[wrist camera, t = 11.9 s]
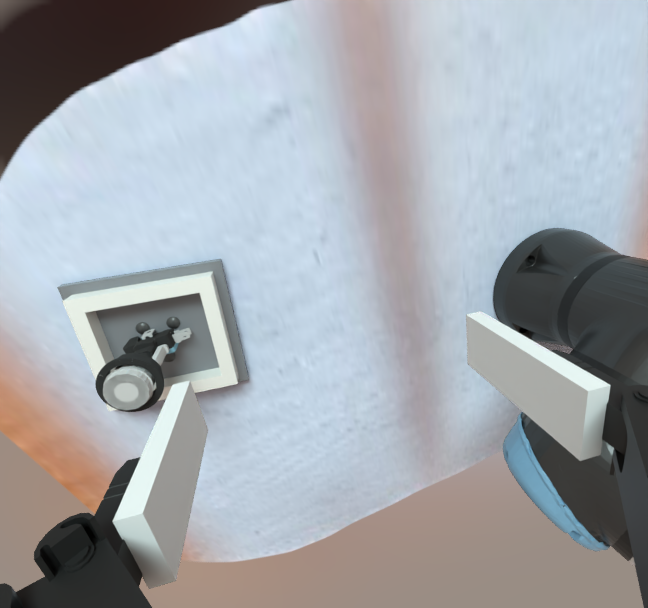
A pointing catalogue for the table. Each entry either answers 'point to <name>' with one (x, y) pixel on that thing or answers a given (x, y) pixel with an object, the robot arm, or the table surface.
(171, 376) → the socket plate
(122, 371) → the push button
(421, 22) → the table surface
